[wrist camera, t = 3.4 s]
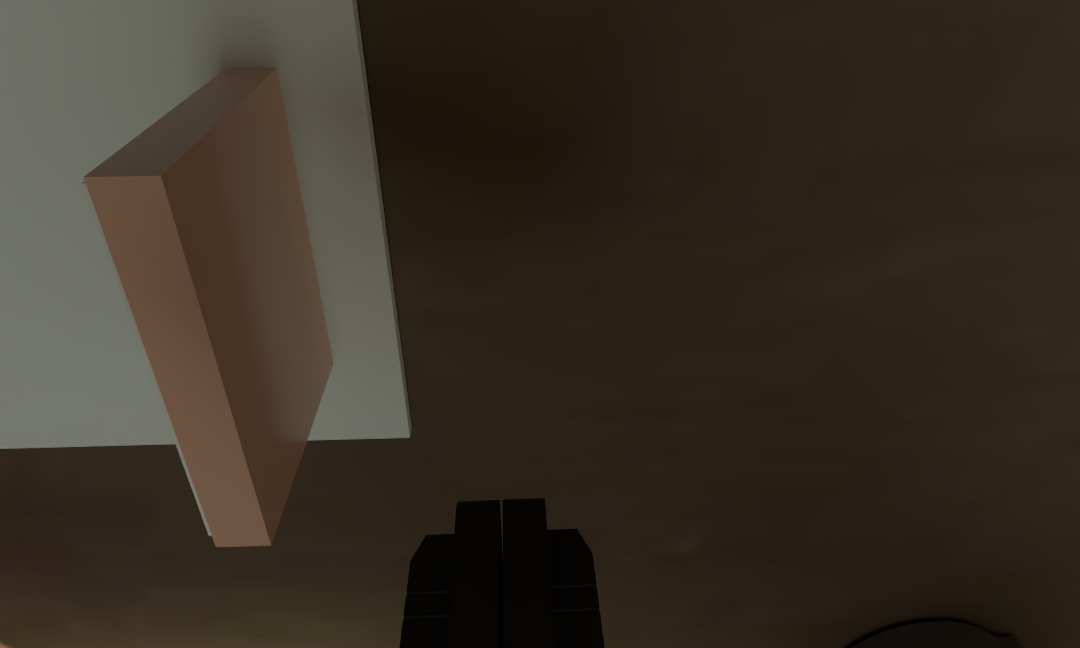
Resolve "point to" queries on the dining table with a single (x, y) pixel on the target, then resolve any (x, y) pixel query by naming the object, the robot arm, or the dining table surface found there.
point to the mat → (113, 121)
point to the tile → (221, 293)
